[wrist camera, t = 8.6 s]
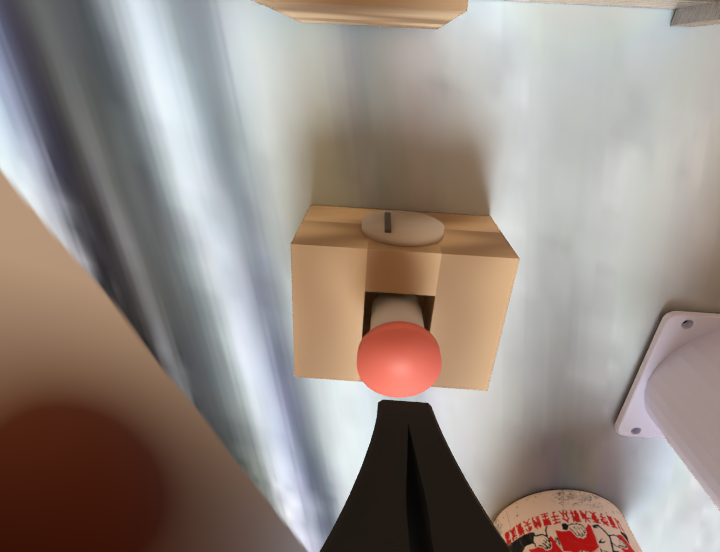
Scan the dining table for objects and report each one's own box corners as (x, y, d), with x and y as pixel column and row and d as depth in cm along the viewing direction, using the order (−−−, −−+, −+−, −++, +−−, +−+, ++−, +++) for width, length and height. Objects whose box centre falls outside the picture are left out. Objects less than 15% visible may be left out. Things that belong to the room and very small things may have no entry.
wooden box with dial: (492, 207, 18) (522, 247, 14) (468, 328, 21) (487, 390, 17) (310, 196, 19) (290, 232, 15) (311, 318, 22) (294, 376, 18)
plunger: (435, 281, 16) (447, 333, 13) (426, 340, 18) (435, 400, 14) (363, 276, 16) (358, 326, 13) (360, 335, 18) (354, 394, 14)
